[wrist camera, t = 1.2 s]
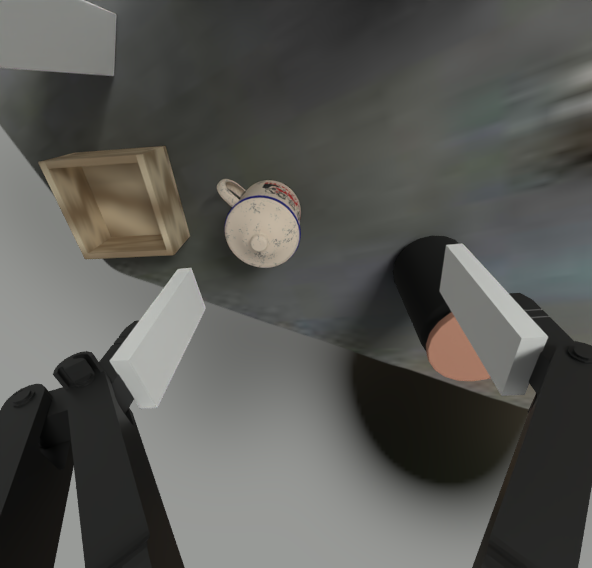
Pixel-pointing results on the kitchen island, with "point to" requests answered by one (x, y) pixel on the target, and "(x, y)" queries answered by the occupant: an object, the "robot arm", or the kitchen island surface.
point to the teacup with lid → (261, 222)
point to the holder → (119, 201)
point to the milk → (57, 36)
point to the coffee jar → (435, 310)
